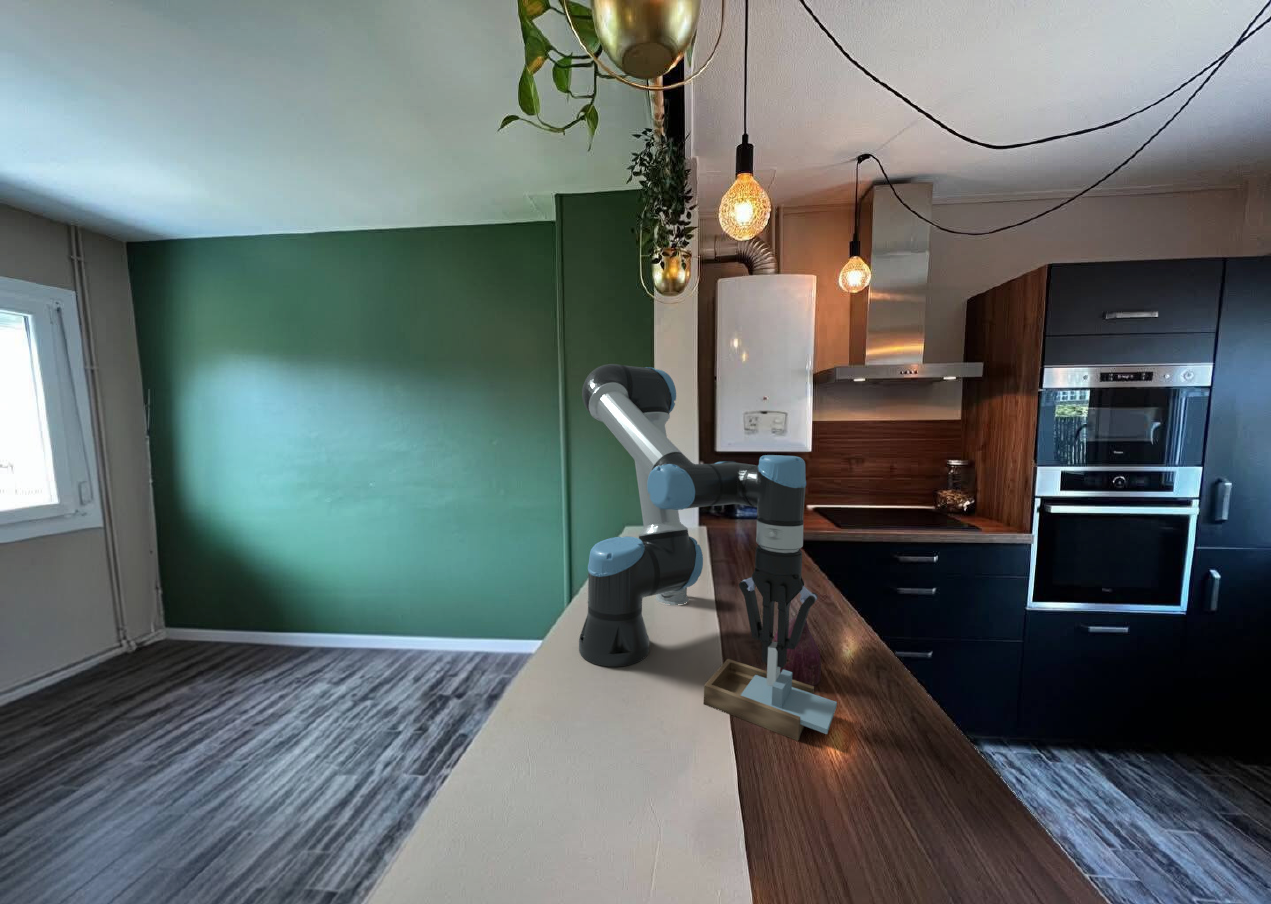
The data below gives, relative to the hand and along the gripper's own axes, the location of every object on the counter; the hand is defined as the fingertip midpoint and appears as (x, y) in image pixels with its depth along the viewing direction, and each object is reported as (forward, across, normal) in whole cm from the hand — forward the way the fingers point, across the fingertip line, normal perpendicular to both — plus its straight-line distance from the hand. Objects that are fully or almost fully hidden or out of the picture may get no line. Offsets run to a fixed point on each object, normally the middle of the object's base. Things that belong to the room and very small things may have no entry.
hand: (773, 682), depth 77 cm
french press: (+5, -37, +34) cm, 51 cm away
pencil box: (+5, -2, 0) cm, 5 cm away
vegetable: (+5, 0, +14) cm, 15 cm away
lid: (+3, +2, 0) cm, 4 cm away
